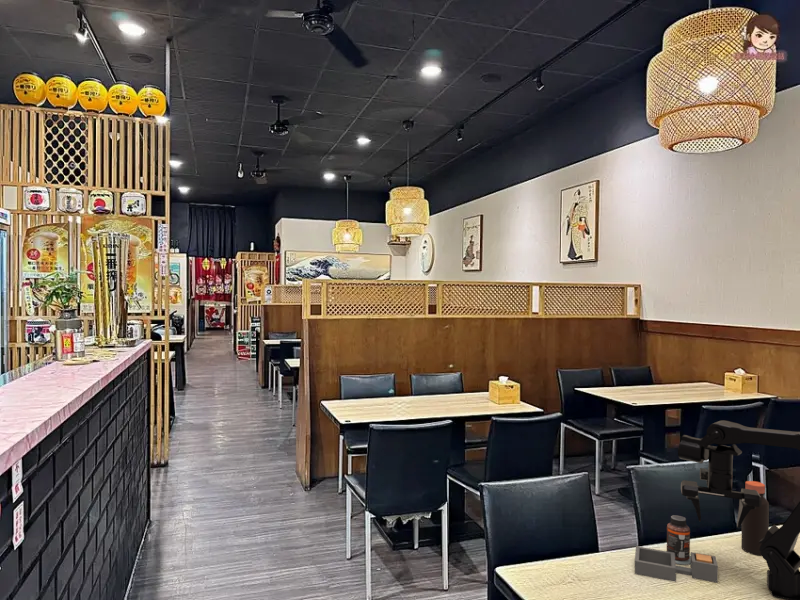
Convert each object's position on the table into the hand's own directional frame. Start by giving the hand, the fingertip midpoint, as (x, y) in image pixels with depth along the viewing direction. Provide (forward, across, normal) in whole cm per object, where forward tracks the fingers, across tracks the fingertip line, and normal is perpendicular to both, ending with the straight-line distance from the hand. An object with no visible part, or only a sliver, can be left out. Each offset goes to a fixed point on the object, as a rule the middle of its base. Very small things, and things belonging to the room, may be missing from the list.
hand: (718, 524), depth 151 cm
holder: (+13, +11, +6) cm, 18 cm away
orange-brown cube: (+12, +4, +4) cm, 13 cm away
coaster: (+13, +10, -4) cm, 17 cm away
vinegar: (+13, -12, -19) cm, 26 cm away
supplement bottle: (+13, +9, -4) cm, 17 cm away
